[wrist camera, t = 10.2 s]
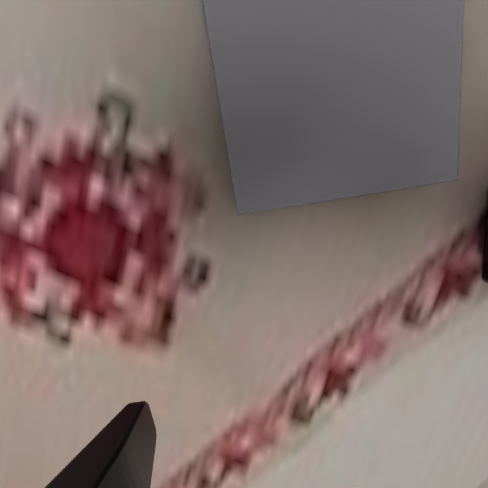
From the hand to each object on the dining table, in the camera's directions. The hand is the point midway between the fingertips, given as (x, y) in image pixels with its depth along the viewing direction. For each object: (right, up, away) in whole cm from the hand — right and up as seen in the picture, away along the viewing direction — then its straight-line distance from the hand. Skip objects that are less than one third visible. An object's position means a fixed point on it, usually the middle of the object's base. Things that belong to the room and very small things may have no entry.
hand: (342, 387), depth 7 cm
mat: (+2, +12, +10) cm, 16 cm away
